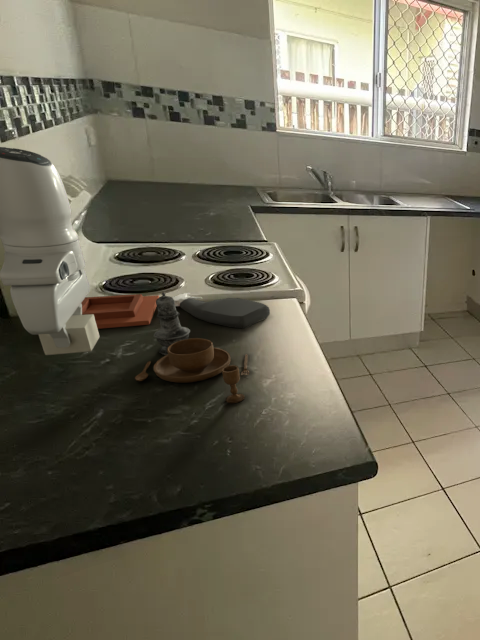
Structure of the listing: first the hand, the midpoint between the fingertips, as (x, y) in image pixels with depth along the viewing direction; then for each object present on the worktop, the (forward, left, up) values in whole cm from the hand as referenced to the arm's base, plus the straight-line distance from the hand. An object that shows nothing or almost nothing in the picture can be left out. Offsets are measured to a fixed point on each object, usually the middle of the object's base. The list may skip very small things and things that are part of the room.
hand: (70, 336), depth 81 cm
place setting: (+17, -9, -7) cm, 21 cm away
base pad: (-1, +27, -7) cm, 28 cm away
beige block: (0, 0, -2) cm, 2 cm away
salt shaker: (+13, +5, -7) cm, 16 cm away
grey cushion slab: (+19, +23, -7) cm, 31 cm away
